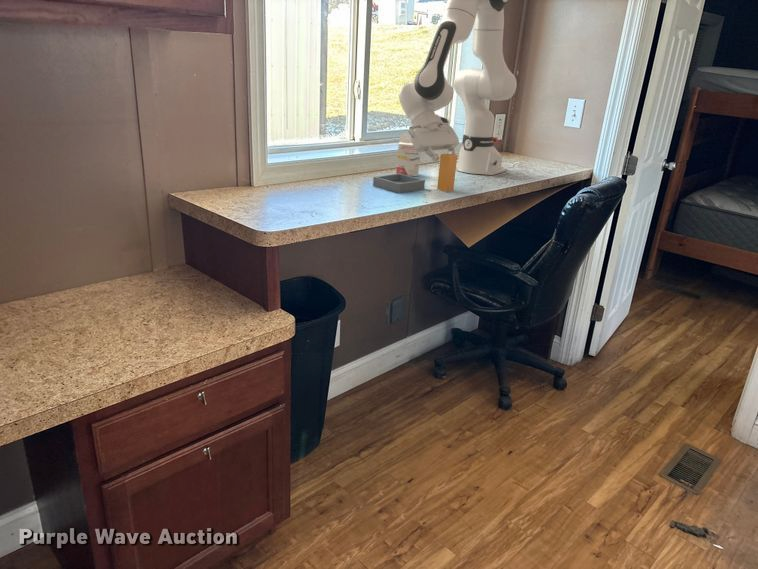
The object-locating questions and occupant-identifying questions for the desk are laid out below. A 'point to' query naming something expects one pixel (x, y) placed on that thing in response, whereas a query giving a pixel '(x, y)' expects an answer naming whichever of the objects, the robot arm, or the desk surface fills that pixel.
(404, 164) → the ink cartridge box
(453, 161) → the orange rectangular block
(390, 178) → the tray
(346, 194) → the desk surface
